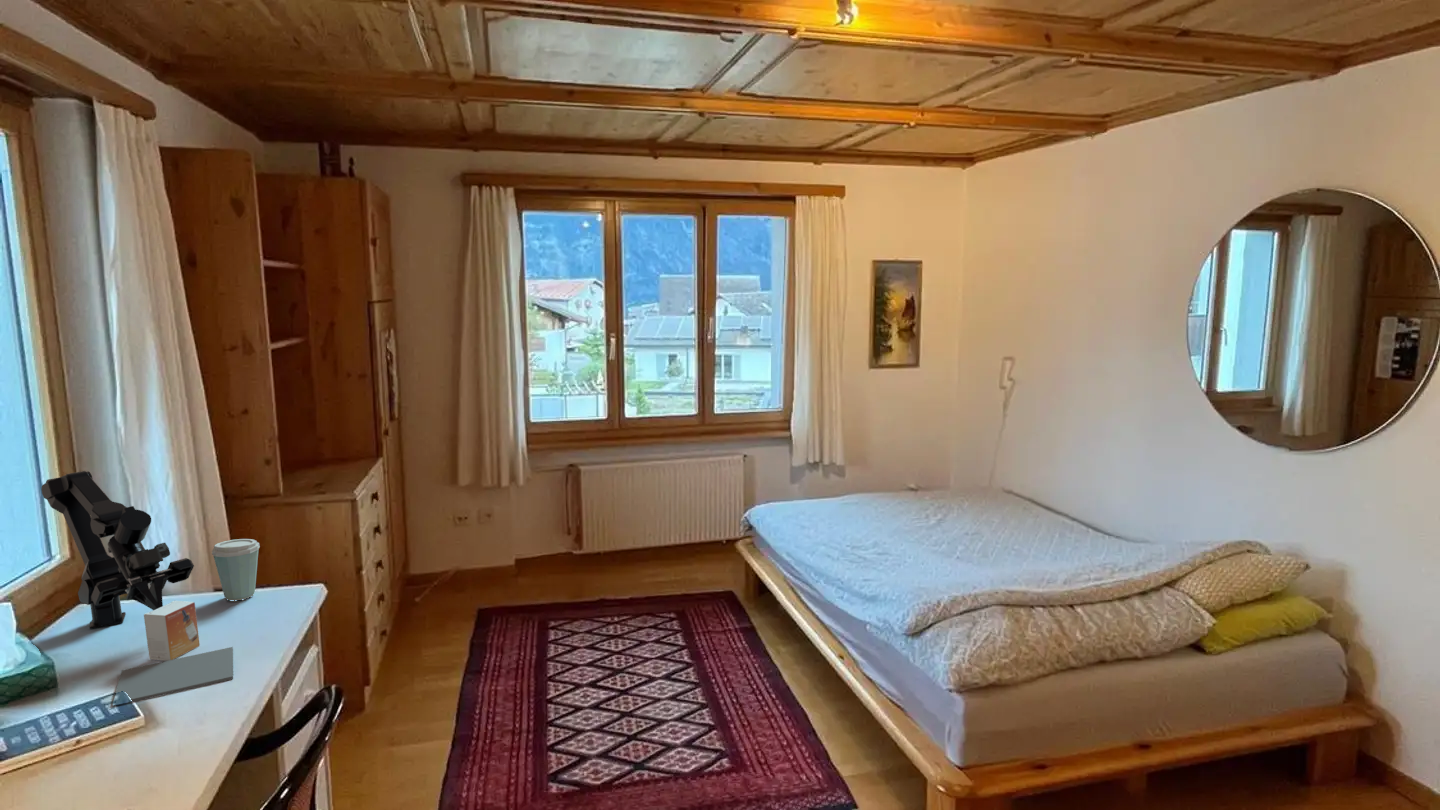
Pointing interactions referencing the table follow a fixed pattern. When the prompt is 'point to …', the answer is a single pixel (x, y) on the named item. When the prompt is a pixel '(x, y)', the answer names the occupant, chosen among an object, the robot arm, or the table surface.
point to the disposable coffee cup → (237, 567)
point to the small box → (171, 630)
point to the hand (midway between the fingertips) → (160, 611)
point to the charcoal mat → (177, 674)
